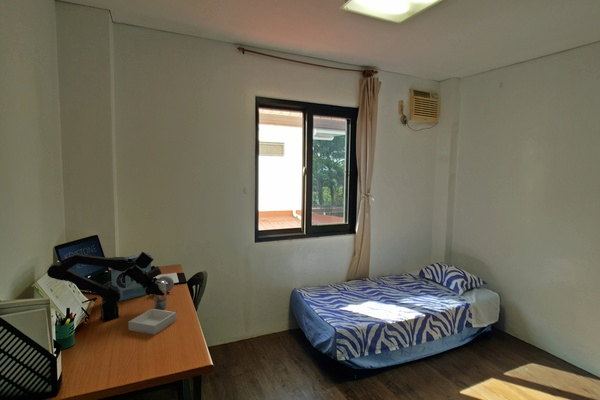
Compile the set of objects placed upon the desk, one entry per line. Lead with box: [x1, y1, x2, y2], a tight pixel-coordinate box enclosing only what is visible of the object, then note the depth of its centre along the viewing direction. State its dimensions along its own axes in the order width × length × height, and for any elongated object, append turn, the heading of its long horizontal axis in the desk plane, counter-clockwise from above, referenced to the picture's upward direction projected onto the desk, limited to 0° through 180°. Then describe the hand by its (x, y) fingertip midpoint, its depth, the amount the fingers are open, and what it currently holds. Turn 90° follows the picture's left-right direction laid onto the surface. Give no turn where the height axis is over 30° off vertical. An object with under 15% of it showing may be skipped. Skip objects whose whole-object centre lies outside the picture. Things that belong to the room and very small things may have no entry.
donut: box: [156, 275, 175, 293], centre depth 182 cm, size 10×4×10 cm, turn 113°
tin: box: [153, 279, 168, 310], centre depth 161 cm, size 6×6×14 cm
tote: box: [127, 308, 177, 336], centre depth 143 cm, size 14×14×4 cm
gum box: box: [110, 253, 152, 302], centre depth 175 cm, size 20×5×23 cm, turn 134°
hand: (163, 293), depth 161 cm, fingers closed on tin, 6 cm apart
